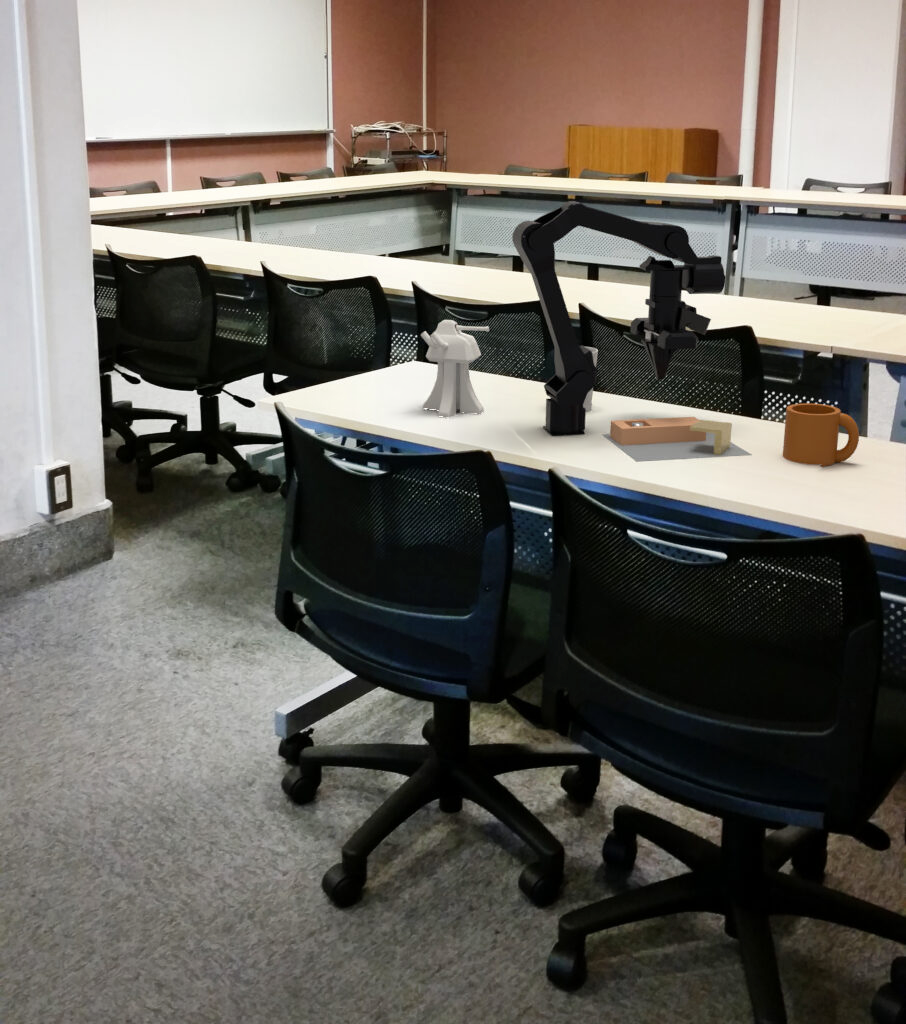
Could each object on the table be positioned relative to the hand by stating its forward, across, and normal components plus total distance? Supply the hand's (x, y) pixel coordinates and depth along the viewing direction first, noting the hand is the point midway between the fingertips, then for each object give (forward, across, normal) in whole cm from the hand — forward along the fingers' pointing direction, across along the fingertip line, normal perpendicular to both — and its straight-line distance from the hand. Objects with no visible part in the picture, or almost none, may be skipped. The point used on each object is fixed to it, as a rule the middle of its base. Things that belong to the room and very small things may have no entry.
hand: (660, 379), depth 222 cm
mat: (+9, -13, +2) cm, 16 cm away
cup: (+10, +18, +10) cm, 23 cm away
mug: (+10, -27, -19) cm, 34 cm away
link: (+9, -9, +3) cm, 13 cm away
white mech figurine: (+10, +21, +34) cm, 42 cm away
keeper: (+9, -17, -2) cm, 19 cm away
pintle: (+9, -9, +7) cm, 14 cm away
